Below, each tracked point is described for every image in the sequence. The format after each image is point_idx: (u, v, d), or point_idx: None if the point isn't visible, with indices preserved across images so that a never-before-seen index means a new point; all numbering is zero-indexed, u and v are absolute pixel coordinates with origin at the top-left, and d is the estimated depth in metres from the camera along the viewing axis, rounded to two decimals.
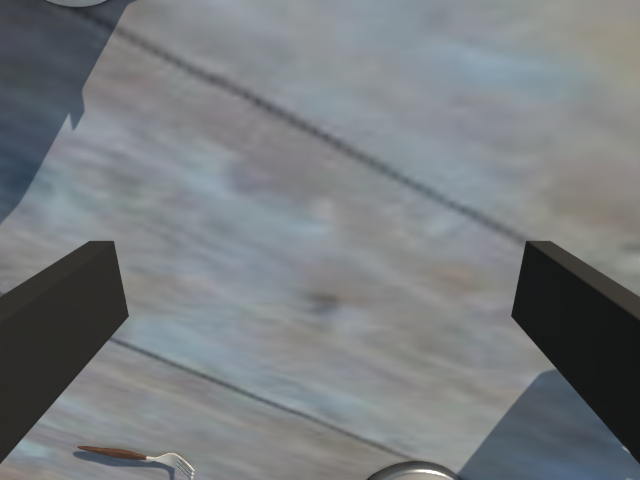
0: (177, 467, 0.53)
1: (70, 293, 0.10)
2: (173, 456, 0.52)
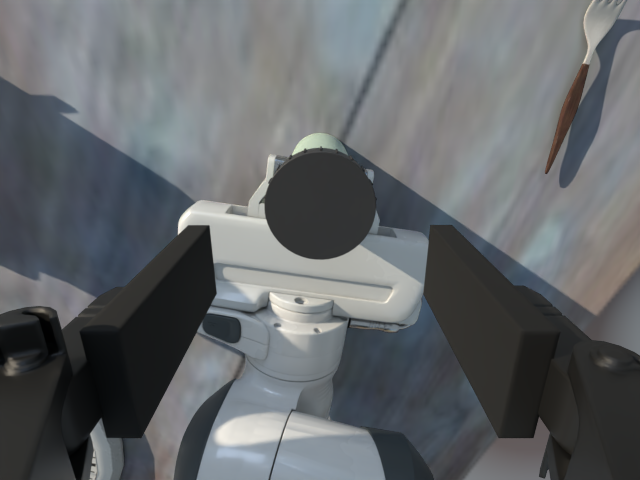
0: (617, 6, 0.30)
1: (189, 267, 0.11)
2: (592, 14, 0.30)
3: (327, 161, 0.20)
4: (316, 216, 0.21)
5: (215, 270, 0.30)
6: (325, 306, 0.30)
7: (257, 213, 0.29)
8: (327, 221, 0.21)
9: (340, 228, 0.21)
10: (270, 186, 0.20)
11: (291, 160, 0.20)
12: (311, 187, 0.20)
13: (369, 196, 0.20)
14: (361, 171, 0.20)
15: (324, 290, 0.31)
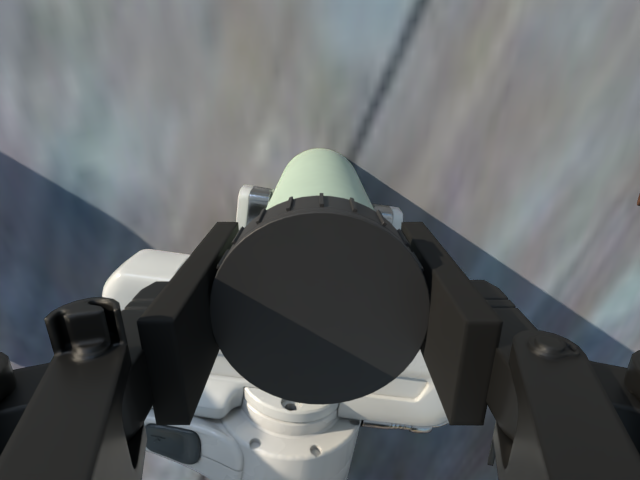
0: None
1: None
2: None
3: (335, 230, 0.09)
4: (312, 332, 0.10)
5: None
6: (327, 410, 0.20)
7: None
8: (334, 340, 0.11)
9: (359, 352, 0.11)
10: (219, 277, 0.10)
11: (260, 228, 0.09)
12: (302, 279, 0.10)
13: (418, 296, 0.10)
14: (404, 249, 0.10)
15: None
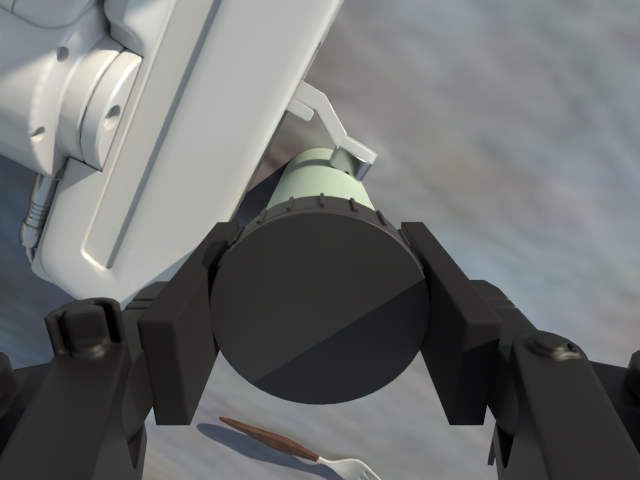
0: None
1: None
2: (357, 465, 0.33)
3: (335, 230, 0.09)
4: (312, 332, 0.10)
5: None
6: (91, 157, 0.16)
7: (299, 99, 0.17)
8: (334, 340, 0.11)
9: (359, 352, 0.11)
10: (219, 277, 0.10)
11: (261, 228, 0.09)
12: (302, 279, 0.10)
13: (418, 296, 0.10)
14: (404, 250, 0.10)
15: (125, 160, 0.17)
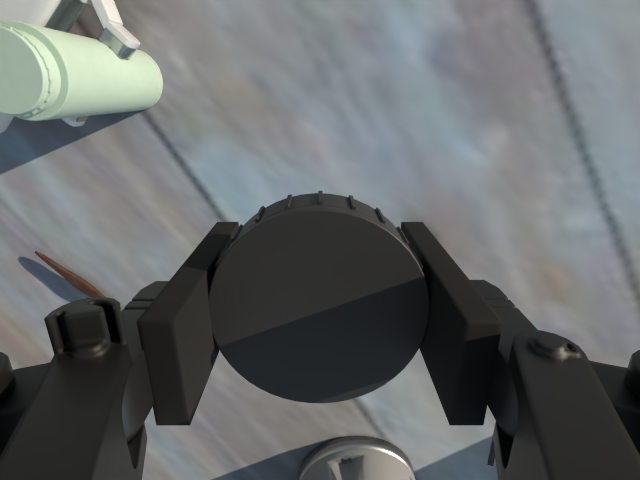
0: None
1: None
2: None
3: (334, 228, 0.09)
4: (311, 330, 0.10)
5: None
6: None
7: None
8: (333, 339, 0.11)
9: (358, 351, 0.11)
10: (218, 276, 0.10)
11: (259, 226, 0.09)
12: (301, 277, 0.10)
13: (417, 294, 0.10)
14: (403, 247, 0.10)
15: None
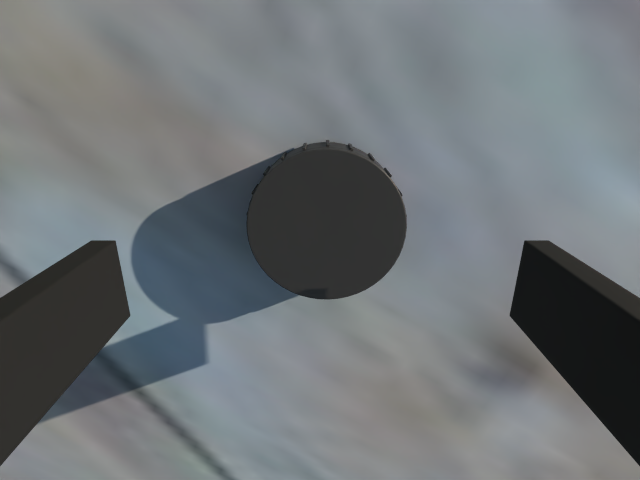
0: None
1: (73, 292, 0.10)
2: None
3: (337, 162, 0.13)
4: (321, 240, 0.14)
5: None
6: None
7: None
8: (336, 247, 0.15)
9: (355, 257, 0.15)
10: (254, 198, 0.14)
11: (284, 161, 0.13)
12: (314, 199, 0.14)
13: (397, 213, 0.14)
14: (386, 177, 0.14)
15: None
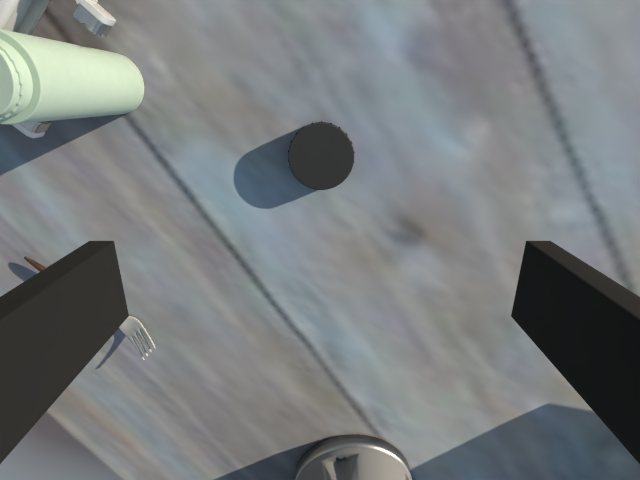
0: (132, 337, 0.43)
1: (71, 293, 0.10)
2: (134, 323, 0.42)
3: (325, 129, 0.34)
4: (319, 162, 0.35)
5: None
6: None
7: None
8: (325, 165, 0.35)
9: (333, 169, 0.35)
10: (292, 144, 0.34)
11: (304, 128, 0.34)
12: (316, 144, 0.34)
13: (350, 150, 0.34)
14: (345, 135, 0.34)
15: None
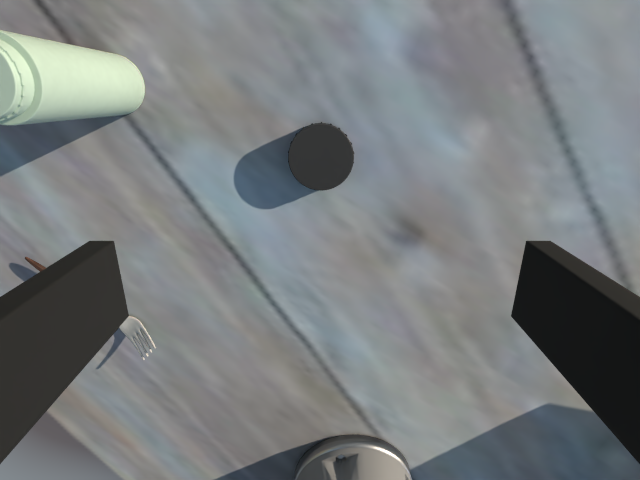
0: (132, 337, 0.43)
1: (70, 293, 0.10)
2: (134, 323, 0.42)
3: (325, 129, 0.34)
4: (318, 163, 0.35)
5: None
6: None
7: None
8: (325, 166, 0.35)
9: (333, 170, 0.35)
10: (292, 144, 0.34)
11: (304, 129, 0.34)
12: (316, 145, 0.34)
13: (349, 150, 0.35)
14: (344, 135, 0.34)
15: None
